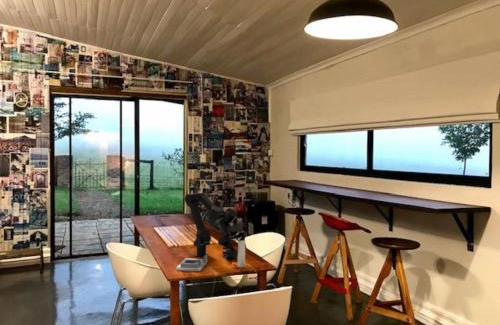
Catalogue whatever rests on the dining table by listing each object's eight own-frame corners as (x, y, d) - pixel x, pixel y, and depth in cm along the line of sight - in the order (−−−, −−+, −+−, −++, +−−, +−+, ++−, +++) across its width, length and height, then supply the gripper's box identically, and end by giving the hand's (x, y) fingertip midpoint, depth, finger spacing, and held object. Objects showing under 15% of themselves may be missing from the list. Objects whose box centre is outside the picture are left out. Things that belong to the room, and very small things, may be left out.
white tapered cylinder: (239, 264, 230) (239, 240, 229) (245, 265, 228) (246, 240, 228) (236, 266, 226) (237, 241, 226) (243, 267, 225) (243, 242, 224)
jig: (185, 260, 236) (185, 253, 236) (207, 261, 235) (207, 254, 235) (176, 270, 217) (176, 261, 217) (200, 271, 216) (200, 262, 216)
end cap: (238, 259, 241) (238, 248, 241) (226, 260, 239) (226, 249, 239) (233, 255, 251) (233, 244, 251) (222, 256, 249) (222, 245, 248)
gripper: (222, 221, 224) (236, 244, 217) (244, 217, 238) (259, 239, 231) (211, 233, 229) (225, 256, 222) (234, 229, 243) (248, 250, 236)
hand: (240, 250), depth 228 cm, fingers open, 9 cm apart
